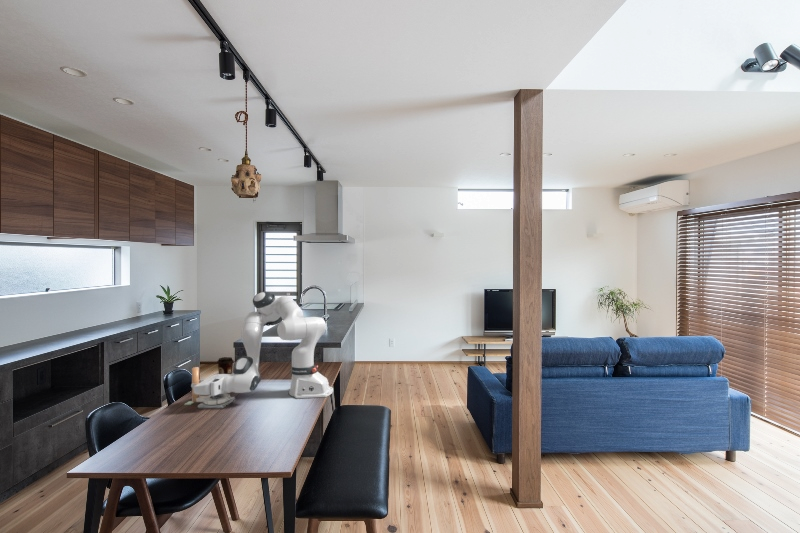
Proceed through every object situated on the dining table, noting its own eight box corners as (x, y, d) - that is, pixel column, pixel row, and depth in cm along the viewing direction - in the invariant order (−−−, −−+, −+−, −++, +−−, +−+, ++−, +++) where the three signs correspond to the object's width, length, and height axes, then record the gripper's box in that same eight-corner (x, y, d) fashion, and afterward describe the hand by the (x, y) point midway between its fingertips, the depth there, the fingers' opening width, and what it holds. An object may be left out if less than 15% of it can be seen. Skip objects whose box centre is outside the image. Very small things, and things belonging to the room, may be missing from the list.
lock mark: (195, 401, 189) (195, 401, 189) (190, 404, 185) (190, 404, 185) (189, 401, 189) (189, 401, 189) (184, 404, 185) (184, 403, 185)
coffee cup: (219, 383, 218) (219, 360, 218) (215, 380, 225) (214, 358, 225) (235, 380, 224) (235, 358, 224) (230, 377, 230) (230, 355, 230)
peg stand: (232, 396, 192) (232, 364, 192) (223, 404, 181) (223, 370, 181) (198, 397, 192) (197, 364, 191) (186, 405, 181) (186, 371, 180)
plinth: (235, 399, 192) (234, 391, 192) (222, 408, 180) (222, 399, 180) (211, 399, 193) (211, 391, 193) (197, 408, 181) (197, 399, 181)
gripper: (232, 370, 196) (205, 371, 197) (212, 383, 176) (182, 383, 176) (232, 383, 196) (206, 383, 197) (212, 397, 176) (182, 397, 176)
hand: (194, 383), depth 186 cm, fingers open, 3 cm apart
